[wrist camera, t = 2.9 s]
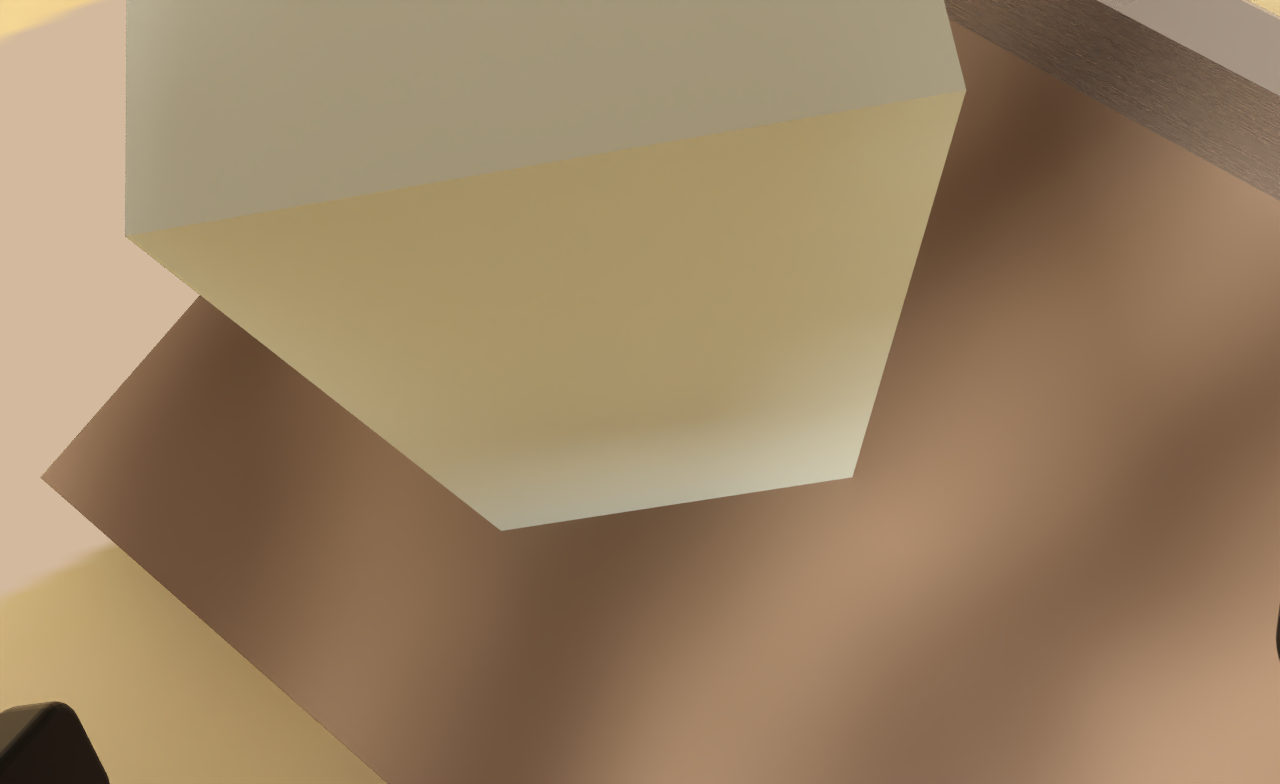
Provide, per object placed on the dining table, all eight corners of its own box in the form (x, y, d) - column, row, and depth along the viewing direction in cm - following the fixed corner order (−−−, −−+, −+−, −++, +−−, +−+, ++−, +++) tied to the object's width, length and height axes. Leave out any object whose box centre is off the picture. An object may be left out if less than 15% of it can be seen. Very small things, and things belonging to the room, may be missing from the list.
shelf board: (1556, 340, 20) (1615, 309, 19) (983, 1276, 17) (1002, 1325, 16) (649, -156, 25) (641, -210, 24) (87, 494, 22) (40, 477, 21)
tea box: (852, 477, 19) (966, 91, 8) (500, 531, 20) (126, 235, 8) (804, 226, 21) (841, -411, 9) (477, 281, 21) (128, -265, 10)
